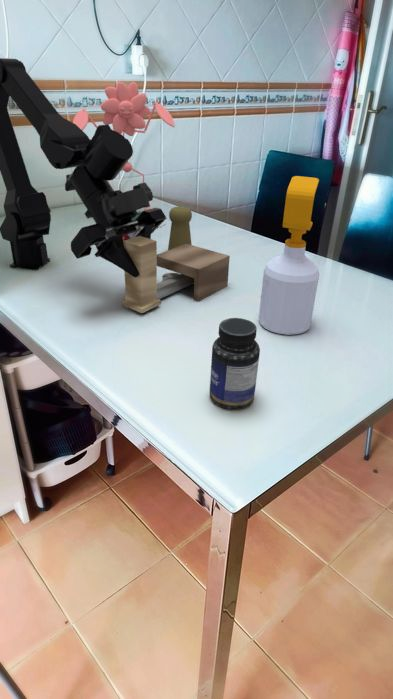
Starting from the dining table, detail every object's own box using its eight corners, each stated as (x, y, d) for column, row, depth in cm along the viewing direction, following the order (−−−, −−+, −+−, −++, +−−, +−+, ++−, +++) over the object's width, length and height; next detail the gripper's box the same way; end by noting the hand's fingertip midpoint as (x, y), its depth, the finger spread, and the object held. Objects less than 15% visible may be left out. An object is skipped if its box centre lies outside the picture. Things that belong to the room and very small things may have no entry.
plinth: (154, 286, 96) (154, 255, 93) (185, 272, 103) (186, 243, 100) (197, 301, 91) (199, 269, 88) (227, 286, 98) (229, 255, 94)
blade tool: (122, 305, 87) (118, 241, 81) (182, 278, 99) (184, 220, 93) (141, 313, 84) (140, 247, 78) (202, 284, 96) (204, 225, 90)
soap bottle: (313, 317, 87) (337, 176, 74) (306, 340, 79) (332, 187, 67) (264, 308, 89) (280, 170, 76) (253, 330, 82) (269, 181, 69)
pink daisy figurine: (79, 219, 135) (66, 78, 117) (165, 214, 144) (167, 81, 125) (88, 237, 123) (76, 82, 105) (182, 230, 132) (186, 85, 113)
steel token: (160, 288, 96) (160, 279, 95) (165, 280, 99) (165, 271, 98) (179, 290, 95) (179, 281, 94) (183, 282, 99) (184, 273, 98)
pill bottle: (207, 385, 67) (210, 314, 62) (249, 384, 68) (257, 314, 62) (212, 412, 62) (216, 338, 56) (258, 411, 62) (267, 337, 57)
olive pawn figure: (189, 259, 111) (190, 211, 105) (164, 257, 111) (164, 209, 106) (194, 251, 116) (196, 205, 110) (170, 248, 117) (170, 203, 111)
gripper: (75, 175, 71) (131, 264, 71) (158, 161, 84) (205, 236, 84) (48, 217, 79) (98, 297, 79) (128, 198, 92) (171, 267, 92)
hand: (146, 272), depth 83 cm, fingers closed on blade tool, 4 cm apart
